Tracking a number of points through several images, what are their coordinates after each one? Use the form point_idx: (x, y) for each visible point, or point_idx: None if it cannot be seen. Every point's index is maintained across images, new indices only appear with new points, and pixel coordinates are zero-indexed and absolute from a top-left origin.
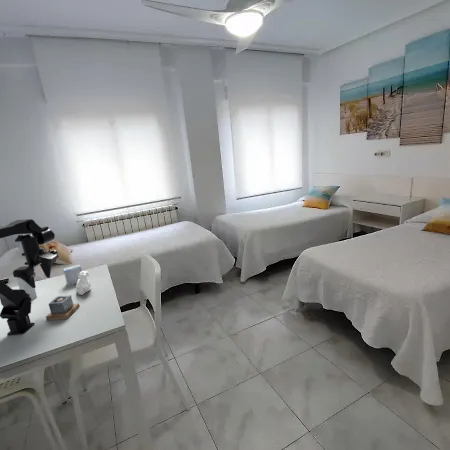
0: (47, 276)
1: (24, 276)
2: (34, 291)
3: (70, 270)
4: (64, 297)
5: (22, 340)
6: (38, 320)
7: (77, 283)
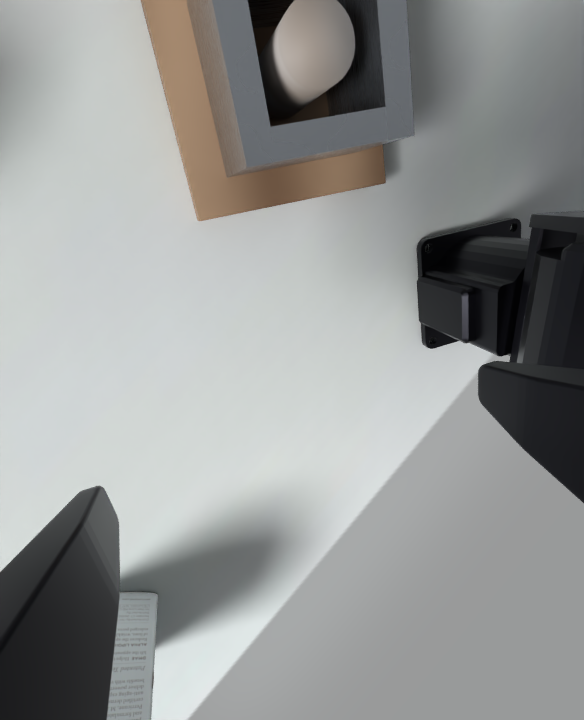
0: (109, 536)
1: None
2: None
3: None
4: (249, 23)
5: (567, 158)
6: (375, 255)
7: None
